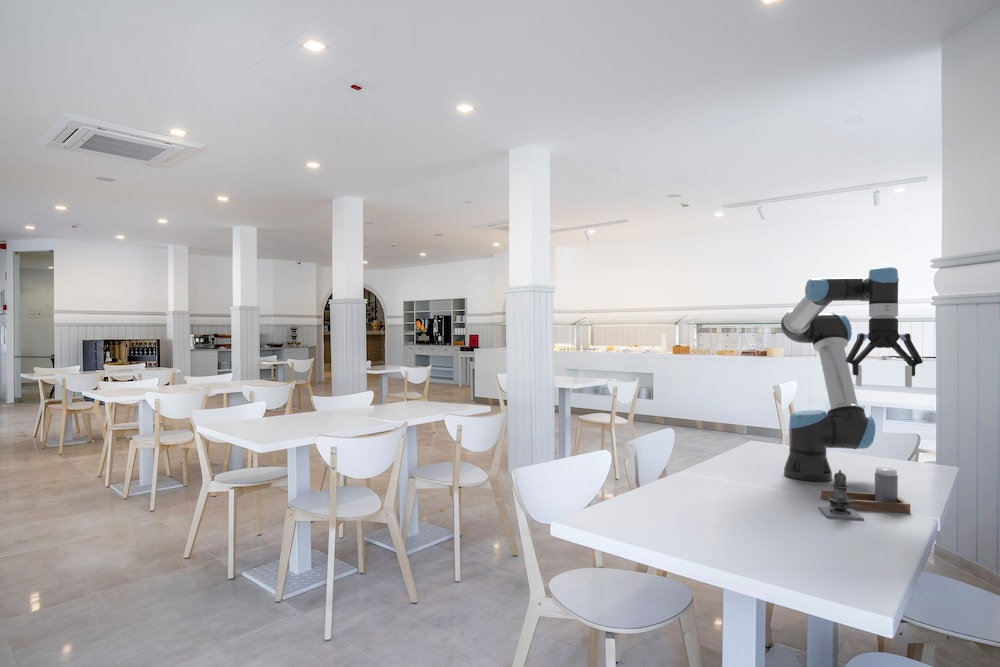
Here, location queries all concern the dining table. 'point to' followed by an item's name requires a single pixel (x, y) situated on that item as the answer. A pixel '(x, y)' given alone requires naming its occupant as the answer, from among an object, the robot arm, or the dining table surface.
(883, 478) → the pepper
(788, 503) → the dining table surface
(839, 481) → the grey chess piece
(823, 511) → the coaster
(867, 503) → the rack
